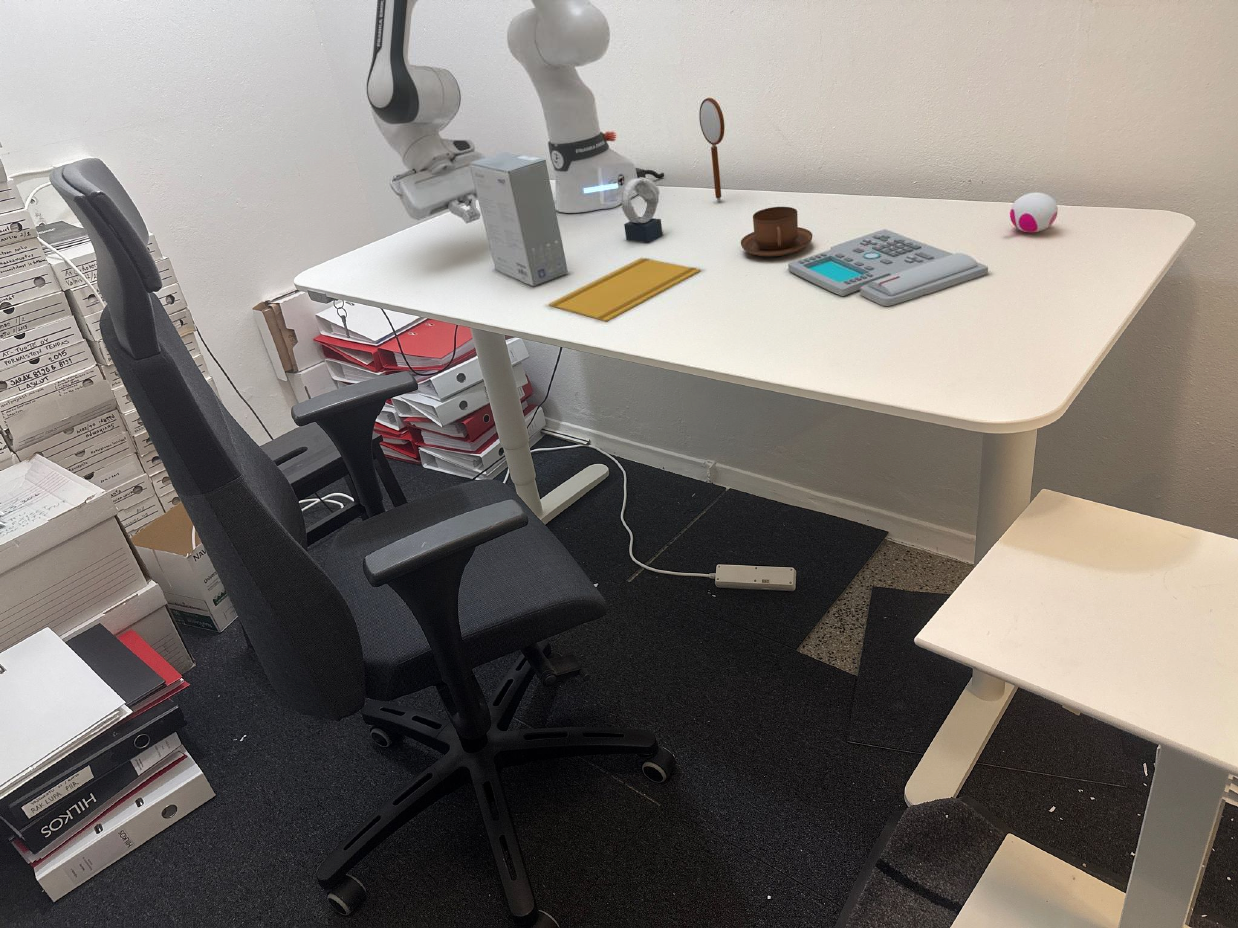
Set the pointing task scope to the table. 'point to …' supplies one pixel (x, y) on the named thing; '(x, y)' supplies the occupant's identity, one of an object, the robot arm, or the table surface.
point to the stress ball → (1033, 212)
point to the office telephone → (887, 268)
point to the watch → (646, 225)
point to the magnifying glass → (713, 134)
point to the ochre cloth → (624, 289)
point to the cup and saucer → (776, 233)
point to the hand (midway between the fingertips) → (473, 219)
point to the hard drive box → (519, 216)
